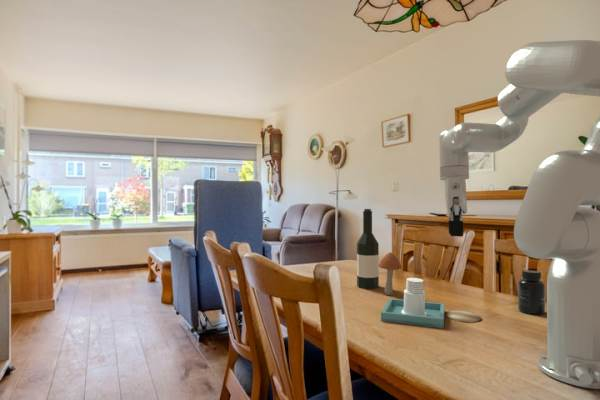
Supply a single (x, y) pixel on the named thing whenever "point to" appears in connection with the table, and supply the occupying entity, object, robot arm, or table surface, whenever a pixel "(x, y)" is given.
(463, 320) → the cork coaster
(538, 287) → the supplement bottle
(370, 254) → the wine bottle
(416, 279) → the downlight
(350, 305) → the table surface
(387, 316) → the tray
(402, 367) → the table surface
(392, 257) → the mushroom
